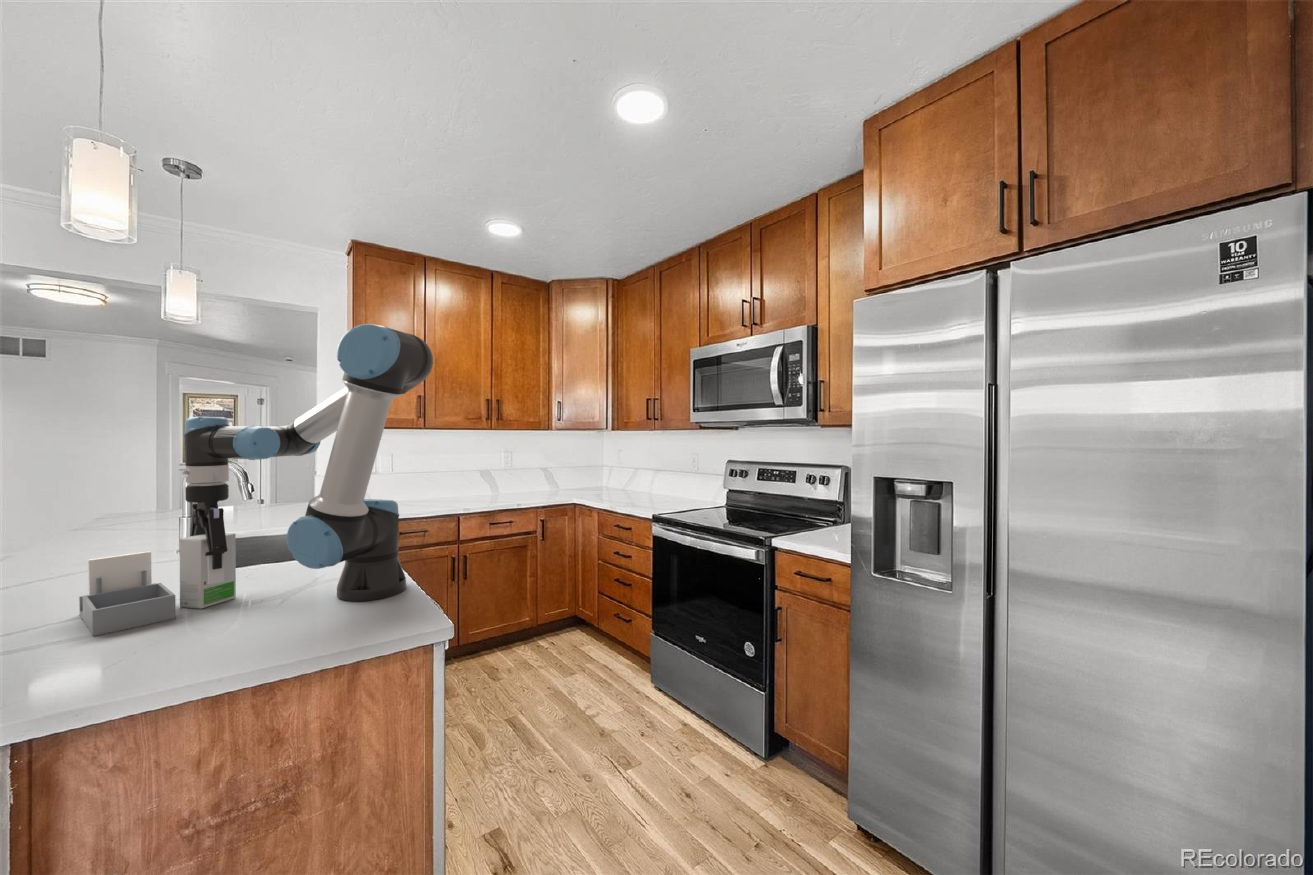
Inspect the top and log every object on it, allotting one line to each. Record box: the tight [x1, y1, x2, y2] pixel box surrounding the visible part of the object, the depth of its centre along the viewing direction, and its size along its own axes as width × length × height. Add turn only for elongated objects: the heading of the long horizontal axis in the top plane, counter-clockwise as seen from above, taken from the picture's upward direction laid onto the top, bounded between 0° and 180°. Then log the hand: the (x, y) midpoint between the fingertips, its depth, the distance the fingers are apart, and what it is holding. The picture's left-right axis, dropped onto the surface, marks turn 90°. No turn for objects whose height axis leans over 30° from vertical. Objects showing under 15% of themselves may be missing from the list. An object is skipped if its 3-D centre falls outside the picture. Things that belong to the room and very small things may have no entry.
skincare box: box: [179, 532, 237, 609], centre depth 120 cm, size 8×7×16 cm
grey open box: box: [78, 550, 176, 637], centre depth 111 cm, size 18×12×12 cm, turn 53°
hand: (208, 577), depth 120 cm, fingers open, 11 cm apart
